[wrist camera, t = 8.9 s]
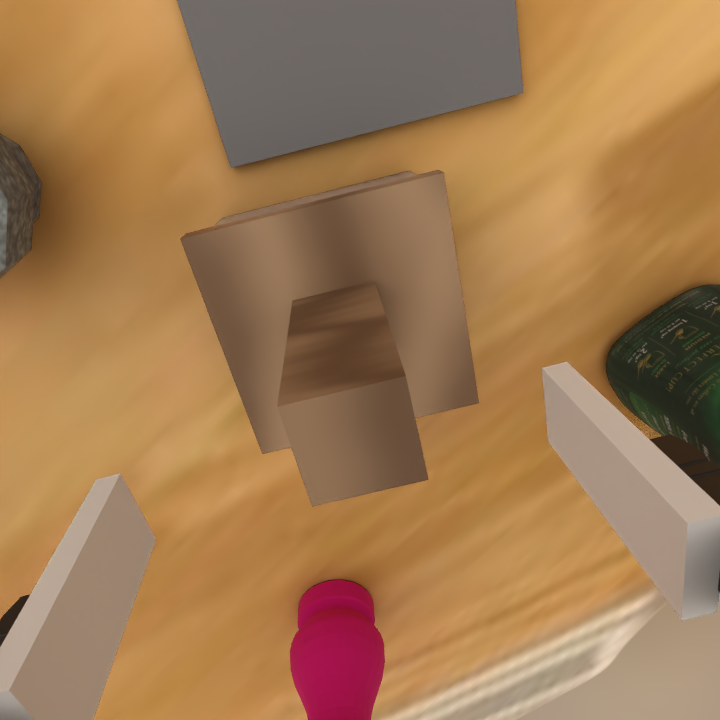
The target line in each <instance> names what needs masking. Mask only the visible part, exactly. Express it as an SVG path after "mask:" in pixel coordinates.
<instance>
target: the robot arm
mask: <svg viewBox="0 0 720 720" xmlns="http://www.w3.org/2000/svg"><path fill="white" fill-rule="evenodd" d="M542 375H543V386H544V398H545V409H546V421H547V433H548V442H549V443H550V445H551V446H552V448H553V449H554V450H555V452H556V453H557V454H558V456H559V457H560V458H561V460H562V461H563V462H564V464H565V465H566V466H567V468H568V469H569V470H570V472H571V473H572V474H573V476H574V477H575V478H576V480H577V481H578V482H579V484H580V485H581V486H582V488H583V489H584V490H585V492H586V493H587V495H588V496H589V497H590V499H591V500H592V501H593V503H594V504H595V505H596V507H597V508H598V509H599V511H600V512H601V513H602V515H603V516H604V517H605V519H606V520H607V521H608V523H609V524H610V525H611V527H612V528H613V529H614V531H615V532H616V533H617V535H618V536H619V537H620V539H621V540H622V542H623V543H624V544H625V546H626V547H627V548H628V550H629V551H630V552H631V554H632V555H633V556H634V558H635V559H636V560H637V562H638V563H639V564H640V566H641V567H642V568H643V570H644V571H645V572H646V574H647V575H648V576H649V578H650V579H651V580H652V582H653V583H654V584H655V586H656V587H657V589H658V590H659V591H660V593H661V594H662V595H663V597H664V598H665V599H666V601H667V602H668V603H669V604H670V606H671V607H672V609H673V610H674V611H675V613H676V614H677V615H678V617H679V618H680V619H681V620H682V621H683V620H687V619H691V618H695V617H699V616H703V615H708V614H712V613H716V612H717V611H718V602H719V593H720V467H718V466H717V465H716V464H715V463H714V462H713V461H711V460H710V461H709V460H708V457H707V456H705V455H704V454H703V453H702V452H701V451H700V450H698V449H697V448H696V447H695V446H694V445H693V444H691V443H688V442H686V441H684V440H682V439H679V438H677V437H675V436H673V435H666V436H661V437H657V438H653V439H648V438H647V437H646V436H645V435H644V434H643V433H642V432H641V431H640V430H639V429H638V428H637V427H636V426H634V425H633V424H632V423H631V422H630V421H629V420H628V419H627V418H626V417H625V416H624V415H623V414H622V413H621V412H620V411H619V410H618V409H616V408H615V407H614V406H613V405H612V404H611V403H610V402H609V401H608V400H607V399H606V398H605V397H604V396H603V395H602V394H601V393H599V392H598V391H597V390H596V389H595V388H594V387H593V386H592V385H591V384H590V383H589V382H588V381H587V380H586V379H585V378H584V377H582V376H581V375H580V374H579V373H578V372H577V371H576V370H575V369H574V368H573V367H572V366H571V365H570V364H569V363H568V362H564V363H560V364H556V365H552V366H548V367H544V368H542ZM155 542H156V538H155V536H154V534H153V533H152V531H151V529H150V527H149V525H148V523H147V521H146V520H145V518H144V516H143V514H142V512H141V510H140V509H139V507H138V505H137V503H136V501H135V499H134V498H133V496H132V494H131V492H130V490H129V488H128V486H127V485H126V483H125V481H124V479H123V477H122V475H121V474H116V475H112V476H108V477H104V478H100V479H96V481H95V482H94V484H93V486H92V488H91V489H90V491H89V493H88V495H87V496H86V498H85V500H84V502H83V503H82V505H81V507H80V509H79V510H78V512H77V514H76V516H75V517H74V519H73V521H72V523H71V524H70V526H69V528H68V530H67V531H66V533H65V535H64V537H63V538H62V540H61V542H60V544H59V545H58V547H57V549H56V551H55V552H54V554H53V556H52V558H51V559H50V561H49V563H48V565H47V566H46V568H45V570H44V572H43V573H42V575H41V577H40V579H39V580H38V582H37V584H36V586H35V587H34V589H33V591H32V593H31V594H30V595H26V596H22V597H20V598H19V600H18V601H17V602H16V603H15V604H14V605H13V606H12V607H11V608H10V609H9V610H8V611H7V612H6V613H5V614H4V615H3V617H2V618H1V620H0V720H93V719H94V716H95V713H96V710H97V707H98V705H99V702H100V699H101V696H102V693H103V690H104V687H105V685H106V682H107V679H108V676H109V673H110V670H111V667H112V665H113V662H114V659H115V656H116V653H117V650H118V647H119V644H120V642H121V639H122V636H123V633H124V630H125V627H126V624H127V622H128V619H129V616H130V613H131V610H132V607H133V604H134V602H135V599H136V596H137V593H138V590H139V587H140V584H141V582H142V579H143V576H144V573H145V570H146V567H147V564H148V562H149V559H150V556H151V553H152V550H153V547H154V544H155Z"/></svg>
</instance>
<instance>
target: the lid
mask: <svg viewBox="0 0 720 720" xmlns="http://www.w3.org/2000/svg"><path fill="white" fill-rule="evenodd" d="M180 240H181V242H182V245H183V247H184V250H185V253H186V255H187V258H188V261H189V263H190V266H191V268H192V271H193V274H194V276H195V279H196V281H197V284H198V287H199V289H200V292H201V294H202V297H203V300H204V302H205V305H206V308H207V310H208V313H209V315H210V318H211V321H212V323H213V326H214V328H215V331H216V334H217V336H218V339H219V342H220V344H221V347H222V349H223V352H224V355H225V357H226V360H227V362H228V365H229V368H230V370H231V373H232V376H233V378H234V381H235V383H236V386H237V389H238V391H239V394H240V396H241V399H242V402H243V404H244V407H245V410H246V412H247V415H248V417H249V420H250V423H251V425H252V428H253V430H254V433H255V436H256V438H257V441H258V444H259V446H260V449H261V451H262V454H265V453H269V452H274V451H278V450H282V449H286V448H292V451H293V454H294V456H295V459H296V462H297V465H298V468H299V471H300V473H301V476H302V479H303V482H304V485H305V488H306V491H307V493H308V496H309V499H310V502H311V505H312V506H317V505H321V504H325V503H330V502H334V501H338V500H343V499H347V498H351V497H356V496H360V495H364V494H369V493H373V492H377V491H382V490H386V489H390V488H395V487H399V486H403V485H408V484H412V483H416V482H421V481H425V480H428V475H427V470H426V466H425V461H424V457H423V452H422V448H421V443H420V438H419V434H418V429H417V425H416V420H415V418H418V417H422V416H426V415H431V414H435V413H439V412H443V411H448V410H452V409H456V408H460V407H465V406H469V405H473V404H477V403H479V400H478V394H477V387H476V381H475V374H474V367H473V361H472V354H471V348H470V341H469V335H468V328H467V322H466V315H465V308H464V302H463V295H462V289H461V282H460V276H459V269H458V263H457V256H456V250H455V243H454V236H453V230H452V223H451V217H450V210H449V204H448V197H447V191H446V184H445V178H444V172H441V171H439V170H436V171H432V172H428V173H424V174H420V175H416V176H412V177H408V178H404V179H400V180H396V181H392V182H388V183H384V184H380V185H376V186H373V187H369V188H365V189H361V190H357V191H353V192H349V193H345V194H341V195H337V196H333V197H329V198H325V199H321V200H317V201H313V202H309V203H305V204H301V205H297V206H293V207H289V208H285V209H281V210H277V211H273V212H269V213H265V214H261V215H257V216H253V217H249V218H246V219H242V220H238V221H234V222H230V223H226V224H222V225H218V226H214V227H210V228H206V229H202V230H198V231H194V232H190V233H186V234H185V235H184V236H183V237H182V238H181V239H180Z"/></svg>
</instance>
